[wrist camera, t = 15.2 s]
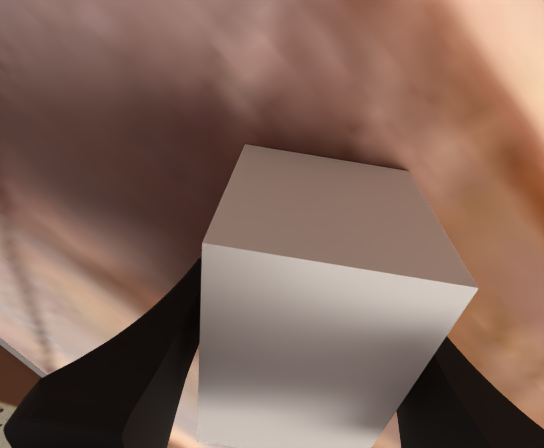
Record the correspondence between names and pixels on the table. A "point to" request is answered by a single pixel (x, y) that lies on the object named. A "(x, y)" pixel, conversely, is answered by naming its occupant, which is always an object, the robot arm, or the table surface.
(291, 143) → the table surface
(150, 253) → the table surface
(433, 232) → the white block
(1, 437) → the food container
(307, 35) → the table surface
